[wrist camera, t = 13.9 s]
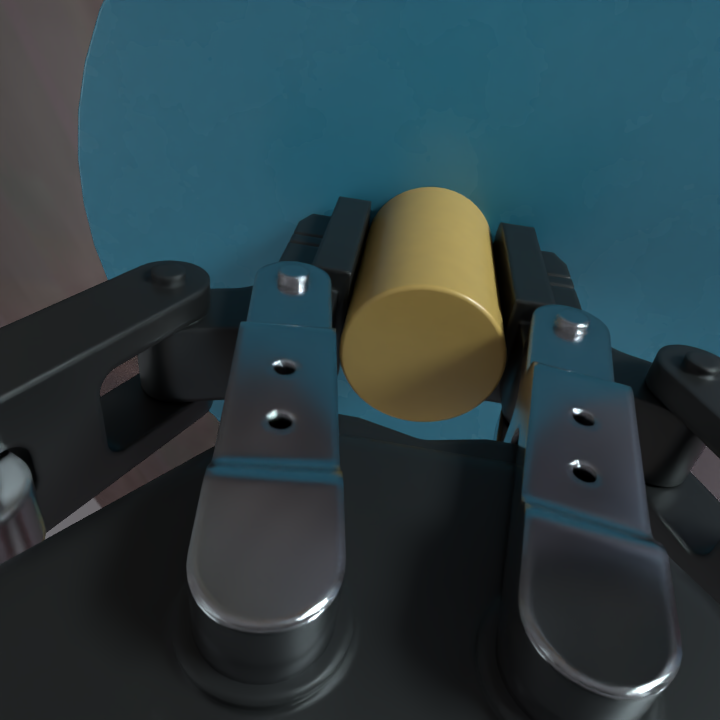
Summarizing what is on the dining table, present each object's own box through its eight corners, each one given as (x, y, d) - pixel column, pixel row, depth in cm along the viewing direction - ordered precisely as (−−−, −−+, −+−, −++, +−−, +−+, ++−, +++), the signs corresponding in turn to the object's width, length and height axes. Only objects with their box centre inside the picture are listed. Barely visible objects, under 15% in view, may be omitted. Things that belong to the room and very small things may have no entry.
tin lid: (1016, 78, 12) (1374, 175, 7) (514, 535, 21) (532, 706, 16) (232, -495, 9) (5, -936, 4) (46, 323, 18) (-91, 459, 13)
